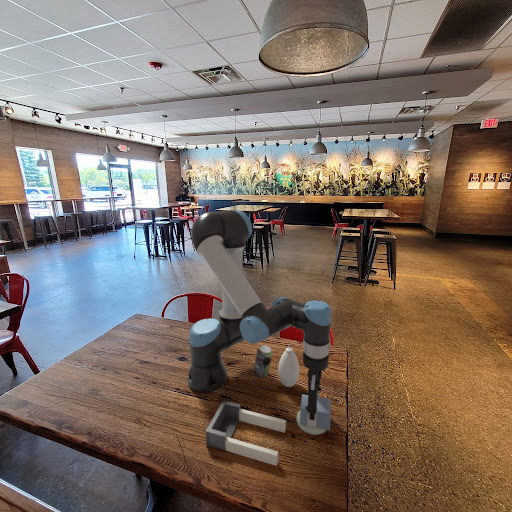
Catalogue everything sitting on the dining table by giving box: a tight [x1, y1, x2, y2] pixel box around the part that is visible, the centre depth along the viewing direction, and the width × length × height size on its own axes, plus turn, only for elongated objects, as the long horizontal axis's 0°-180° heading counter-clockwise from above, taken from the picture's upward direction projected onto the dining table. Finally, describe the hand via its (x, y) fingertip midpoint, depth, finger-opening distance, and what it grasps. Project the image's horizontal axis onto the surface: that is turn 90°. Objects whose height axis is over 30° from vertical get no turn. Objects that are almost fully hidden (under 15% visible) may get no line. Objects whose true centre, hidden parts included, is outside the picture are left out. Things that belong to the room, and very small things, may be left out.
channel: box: [225, 408, 287, 467], centre depth 79 cm, size 15×12×4 cm
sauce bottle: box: [277, 342, 300, 388], centre depth 100 cm, size 8×8×18 cm
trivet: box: [296, 410, 327, 436], centre depth 86 cm, size 10×10×1 cm
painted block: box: [299, 393, 332, 431], centre depth 85 cm, size 9×6×6 cm, turn 75°
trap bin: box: [205, 399, 241, 452], centre depth 82 cm, size 6×12×5 cm, turn 162°
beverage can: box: [253, 344, 273, 378], centre depth 106 cm, size 6×7×12 cm
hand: (312, 416), depth 85 cm, fingers closed on painted block, 6 cm apart
